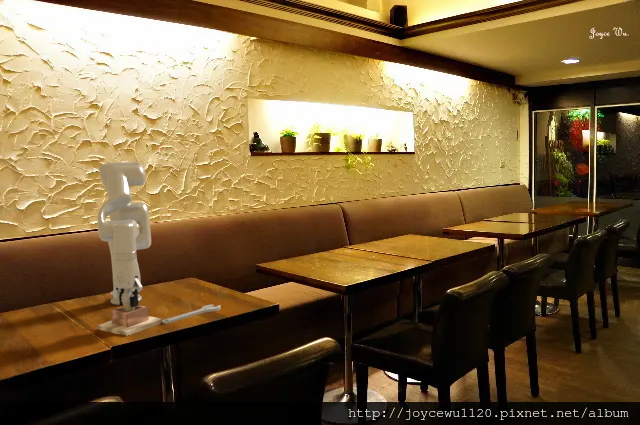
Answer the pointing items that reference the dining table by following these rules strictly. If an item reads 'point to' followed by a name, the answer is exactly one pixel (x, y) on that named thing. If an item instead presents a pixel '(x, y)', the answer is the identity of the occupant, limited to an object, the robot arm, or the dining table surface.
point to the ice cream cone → (127, 301)
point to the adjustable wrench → (192, 313)
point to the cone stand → (129, 321)
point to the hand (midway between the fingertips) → (129, 304)
